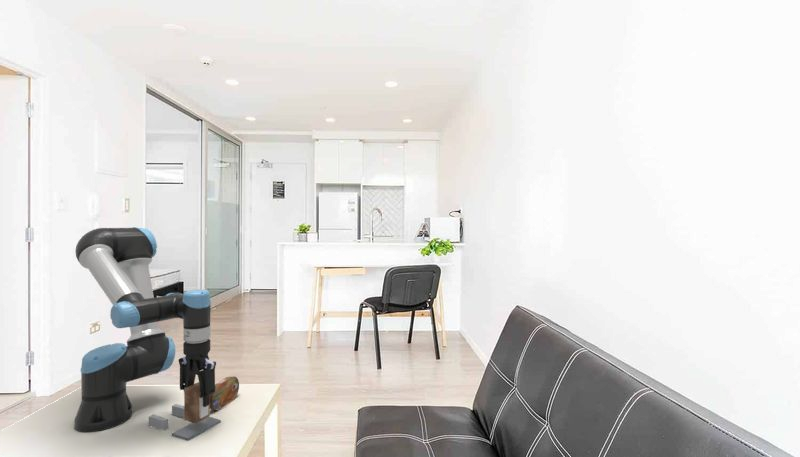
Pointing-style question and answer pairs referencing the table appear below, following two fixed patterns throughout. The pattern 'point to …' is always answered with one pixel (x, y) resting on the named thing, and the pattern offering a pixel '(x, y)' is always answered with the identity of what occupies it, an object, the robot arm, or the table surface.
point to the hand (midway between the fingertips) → (197, 414)
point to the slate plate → (195, 428)
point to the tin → (224, 393)
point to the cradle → (163, 422)
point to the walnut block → (193, 404)
